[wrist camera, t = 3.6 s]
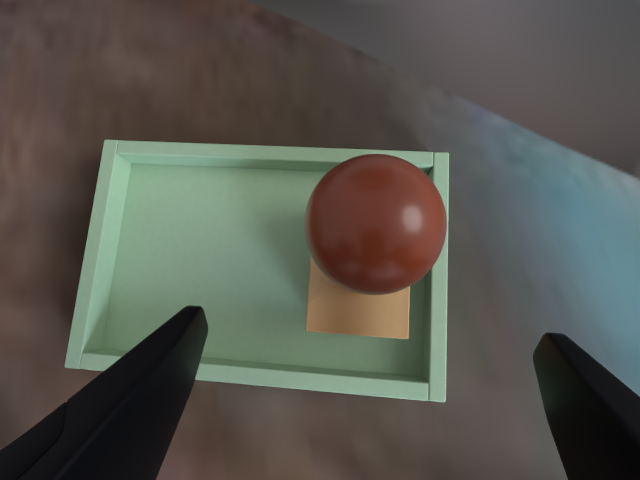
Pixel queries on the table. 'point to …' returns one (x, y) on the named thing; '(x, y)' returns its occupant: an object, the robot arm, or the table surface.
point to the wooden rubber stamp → (370, 245)
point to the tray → (240, 270)
